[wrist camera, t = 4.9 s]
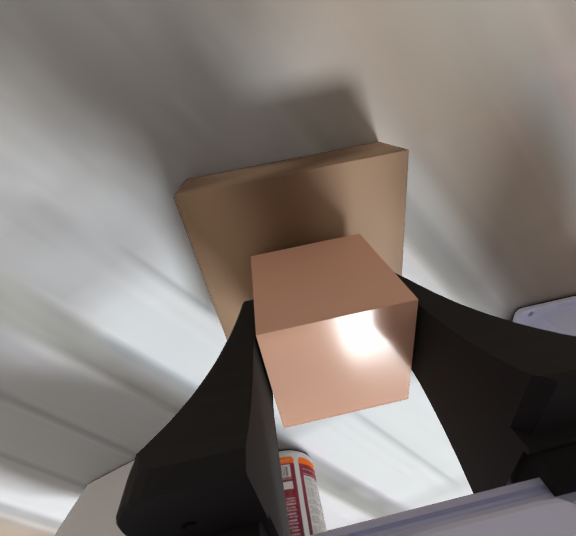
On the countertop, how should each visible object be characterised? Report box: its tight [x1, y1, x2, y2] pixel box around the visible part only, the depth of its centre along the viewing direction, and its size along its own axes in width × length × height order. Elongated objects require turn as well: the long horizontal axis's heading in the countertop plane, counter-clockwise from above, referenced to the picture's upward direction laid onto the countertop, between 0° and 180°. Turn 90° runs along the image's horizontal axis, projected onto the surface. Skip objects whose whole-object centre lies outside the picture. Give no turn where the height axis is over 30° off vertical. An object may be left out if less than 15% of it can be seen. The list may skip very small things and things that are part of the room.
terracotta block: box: [251, 234, 418, 428], centre depth 12 cm, size 5×5×5 cm
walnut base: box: [174, 142, 409, 340], centre depth 16 cm, size 10×10×3 cm
